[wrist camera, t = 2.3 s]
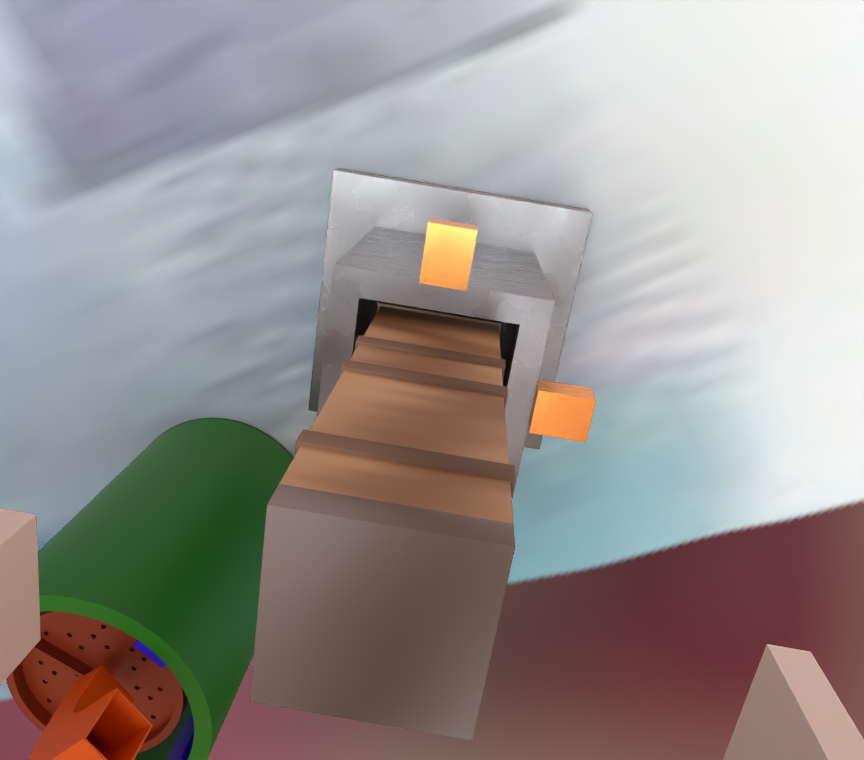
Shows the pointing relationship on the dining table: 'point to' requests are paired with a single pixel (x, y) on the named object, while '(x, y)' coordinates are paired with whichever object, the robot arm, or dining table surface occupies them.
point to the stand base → (458, 285)
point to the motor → (153, 600)
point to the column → (393, 533)
